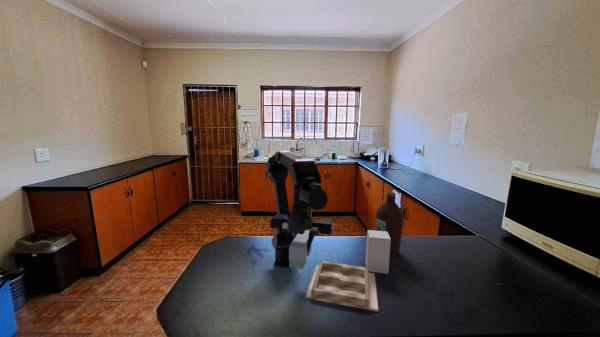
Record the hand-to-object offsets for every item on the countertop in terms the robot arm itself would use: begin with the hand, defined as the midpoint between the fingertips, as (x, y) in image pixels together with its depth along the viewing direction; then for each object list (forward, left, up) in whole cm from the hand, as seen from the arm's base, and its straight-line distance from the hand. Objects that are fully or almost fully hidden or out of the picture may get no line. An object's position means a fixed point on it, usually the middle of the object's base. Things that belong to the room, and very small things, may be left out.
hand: (301, 250), depth 74 cm
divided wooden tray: (+13, +4, -12) cm, 18 cm away
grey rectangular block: (0, 0, -3) cm, 2 cm away
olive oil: (+29, +32, -12) cm, 45 cm away
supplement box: (+24, +18, -12) cm, 32 cm away
